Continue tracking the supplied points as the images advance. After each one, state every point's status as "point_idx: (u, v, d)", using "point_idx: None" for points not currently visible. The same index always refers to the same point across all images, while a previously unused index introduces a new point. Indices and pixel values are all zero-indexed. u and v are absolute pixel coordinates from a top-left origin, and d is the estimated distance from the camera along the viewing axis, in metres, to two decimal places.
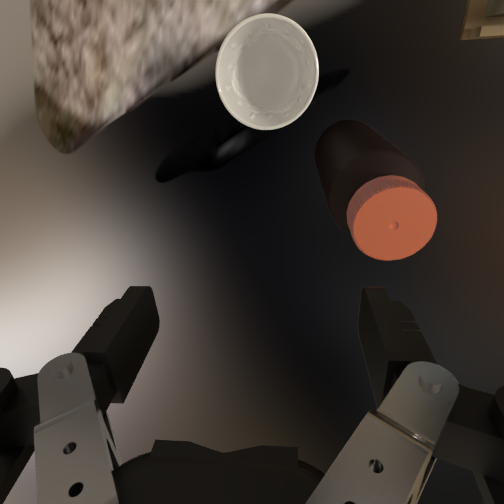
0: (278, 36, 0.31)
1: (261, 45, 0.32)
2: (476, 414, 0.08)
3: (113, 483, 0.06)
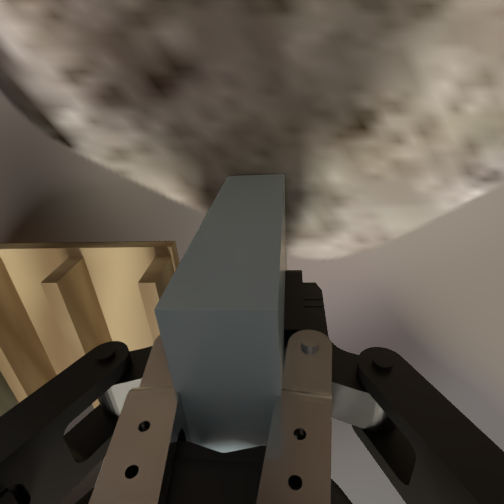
0: None
1: None
2: (345, 372, 0.09)
3: (160, 486, 0.06)
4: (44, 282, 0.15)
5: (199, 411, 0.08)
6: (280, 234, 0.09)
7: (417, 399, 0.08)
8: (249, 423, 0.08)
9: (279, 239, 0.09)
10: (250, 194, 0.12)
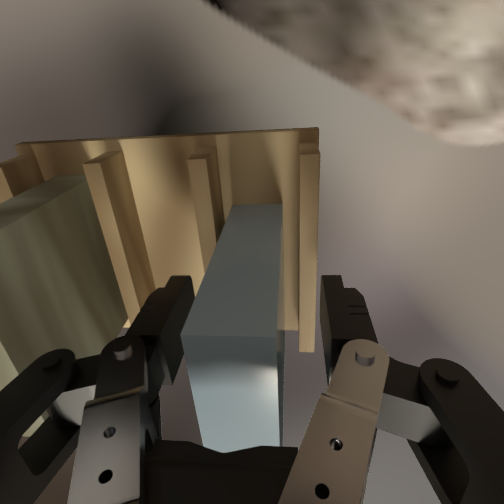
0: None
1: None
2: (404, 385, 0.09)
3: (138, 481, 0.06)
4: (191, 159, 0.13)
5: (212, 413, 0.10)
6: (278, 267, 0.11)
7: (481, 420, 0.07)
8: (252, 422, 0.10)
9: (278, 272, 0.11)
10: (253, 225, 0.14)
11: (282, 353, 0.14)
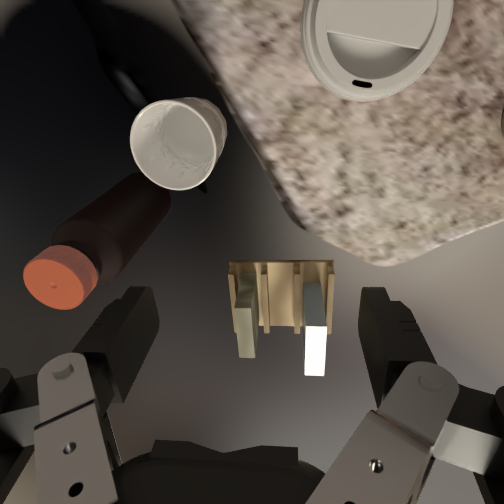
0: None
1: None
2: (476, 414, 0.08)
3: (113, 483, 0.06)
4: (295, 274, 0.44)
5: (309, 345, 0.41)
6: None
7: None
8: (318, 348, 0.41)
9: (324, 310, 0.42)
10: (313, 293, 0.45)
11: None
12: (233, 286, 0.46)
